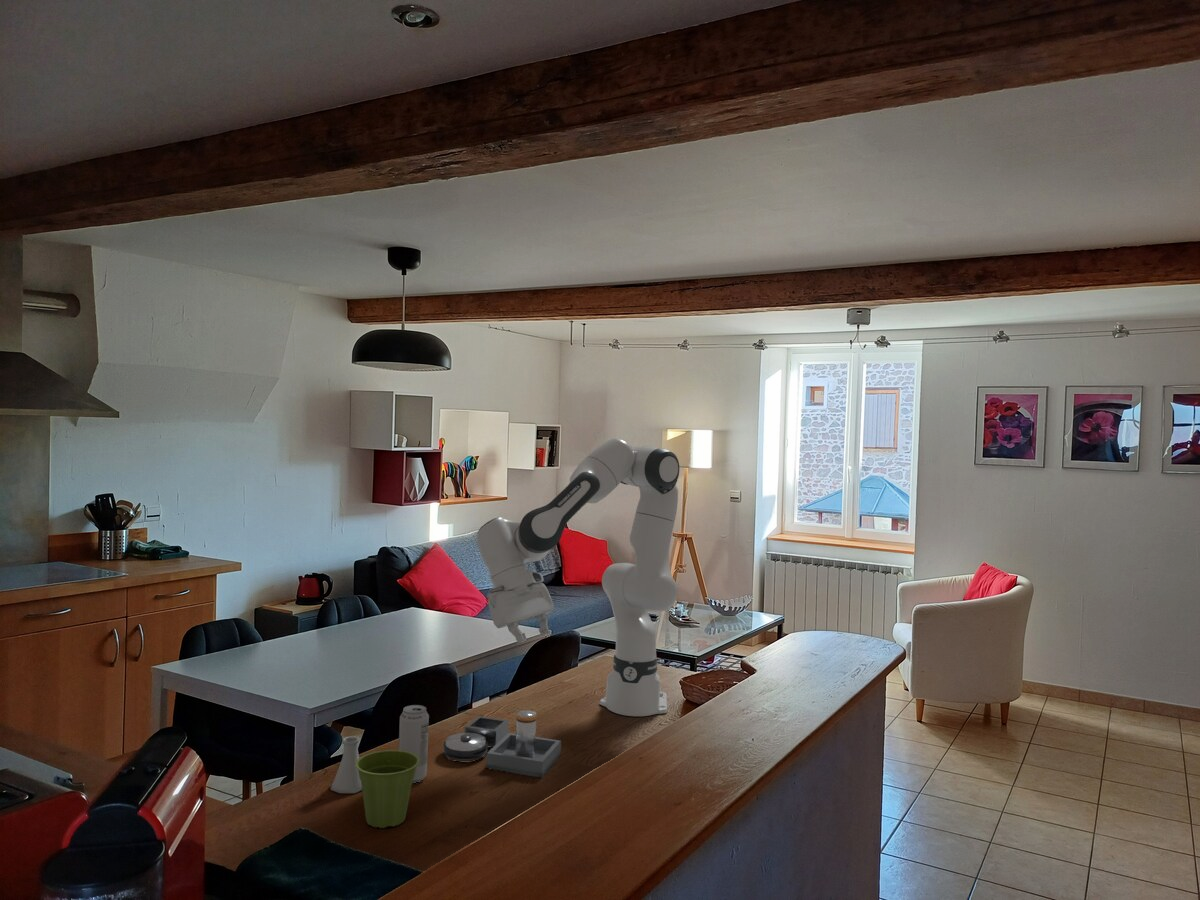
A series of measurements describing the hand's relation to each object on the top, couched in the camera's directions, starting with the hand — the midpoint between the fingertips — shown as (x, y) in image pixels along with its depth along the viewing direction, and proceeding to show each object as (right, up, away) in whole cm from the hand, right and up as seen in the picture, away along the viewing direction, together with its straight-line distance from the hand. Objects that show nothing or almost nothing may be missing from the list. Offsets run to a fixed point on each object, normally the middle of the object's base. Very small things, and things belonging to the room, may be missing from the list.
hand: (534, 637), depth 194 cm
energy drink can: (-24, -26, -20) cm, 40 cm away
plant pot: (-25, -26, -38) cm, 53 cm away
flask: (-36, -25, -25) cm, 51 cm away
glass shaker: (-1, -25, -8) cm, 26 cm away
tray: (-2, -26, -8) cm, 27 cm away
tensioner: (-14, -25, -1) cm, 29 cm away
